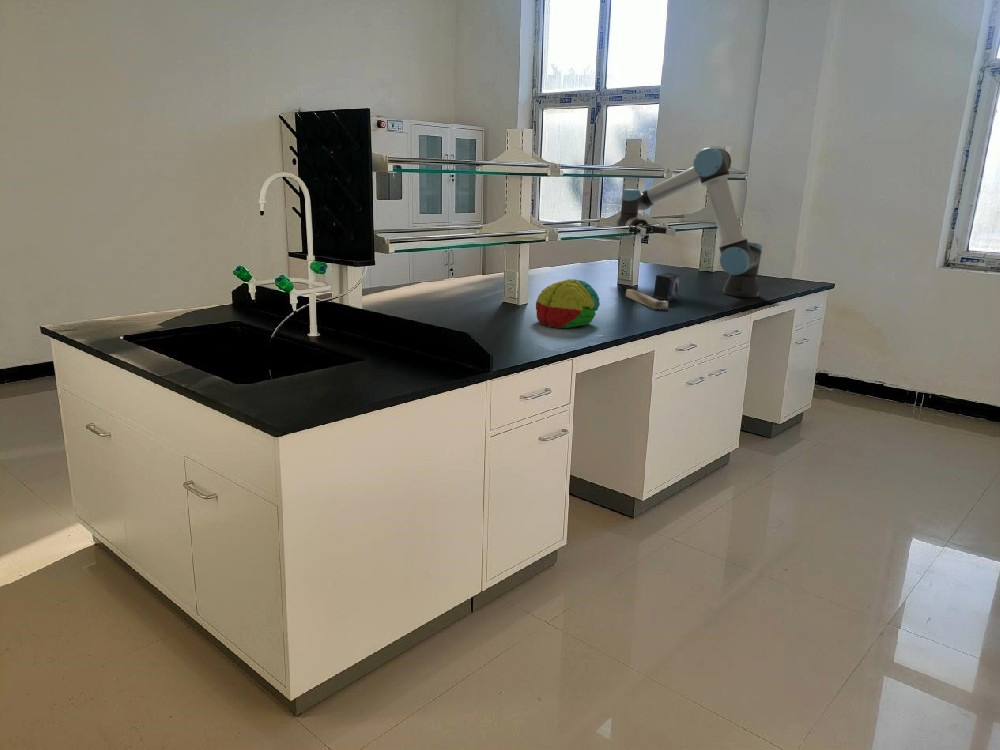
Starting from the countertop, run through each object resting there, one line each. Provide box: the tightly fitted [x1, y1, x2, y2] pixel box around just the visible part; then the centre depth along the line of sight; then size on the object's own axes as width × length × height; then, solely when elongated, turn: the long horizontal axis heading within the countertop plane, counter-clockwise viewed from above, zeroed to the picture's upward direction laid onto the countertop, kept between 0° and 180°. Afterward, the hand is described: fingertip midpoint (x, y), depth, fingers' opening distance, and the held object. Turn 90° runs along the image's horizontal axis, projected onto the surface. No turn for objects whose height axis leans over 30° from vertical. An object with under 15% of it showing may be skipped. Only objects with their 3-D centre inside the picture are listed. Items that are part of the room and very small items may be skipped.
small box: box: [652, 272, 681, 303], centre depth 295 cm, size 11×6×10 cm, turn 143°
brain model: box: [535, 278, 601, 329], centre depth 242 cm, size 24×19×15 cm
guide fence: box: [625, 288, 669, 311], centre depth 287 cm, size 6×26×3 cm, turn 15°
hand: (659, 232), depth 300 cm, fingers open, 13 cm apart
